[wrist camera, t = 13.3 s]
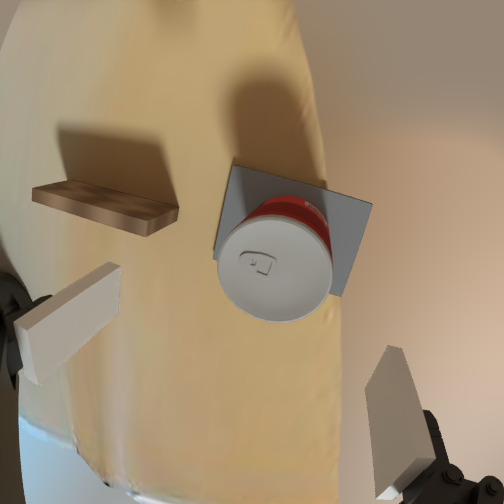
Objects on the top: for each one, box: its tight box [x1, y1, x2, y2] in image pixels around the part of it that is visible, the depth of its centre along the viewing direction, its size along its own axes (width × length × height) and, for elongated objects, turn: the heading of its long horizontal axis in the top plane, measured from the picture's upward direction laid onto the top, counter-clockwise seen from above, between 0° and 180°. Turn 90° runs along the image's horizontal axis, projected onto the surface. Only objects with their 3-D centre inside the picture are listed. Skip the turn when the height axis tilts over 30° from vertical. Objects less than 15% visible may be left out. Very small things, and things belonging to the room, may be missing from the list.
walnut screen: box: [32, 180, 179, 237], centre depth 32 cm, size 16×2×7 cm, turn 77°
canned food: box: [217, 196, 333, 323], centre depth 27 cm, size 8×8×11 cm
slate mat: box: [213, 165, 373, 297], centre depth 32 cm, size 14×10×1 cm
